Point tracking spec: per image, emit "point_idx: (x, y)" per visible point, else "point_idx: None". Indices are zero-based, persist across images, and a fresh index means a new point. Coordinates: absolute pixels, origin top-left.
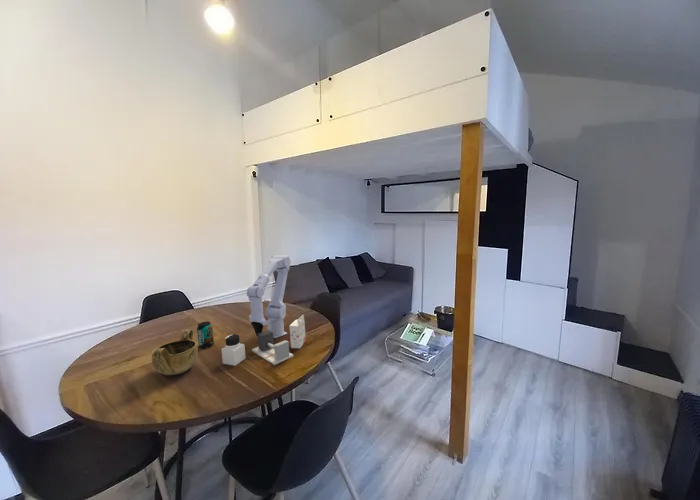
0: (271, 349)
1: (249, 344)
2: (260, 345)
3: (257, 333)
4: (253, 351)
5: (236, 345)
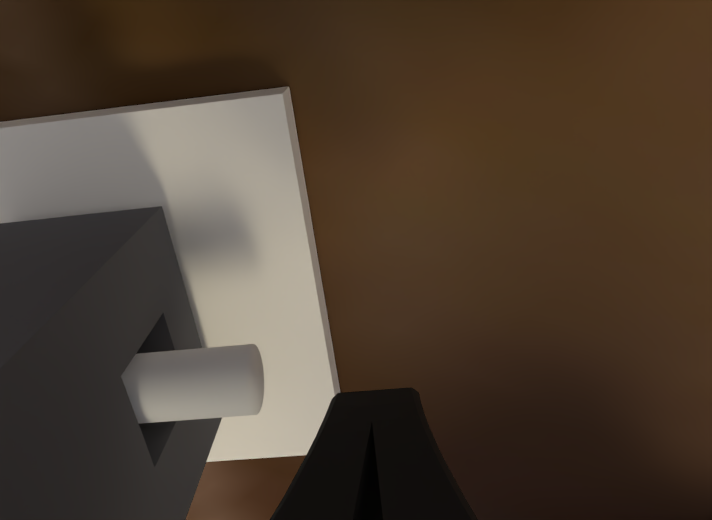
0: None
1: (647, 165)
2: (17, 258)
3: (304, 467)
4: (225, 96)
5: None
